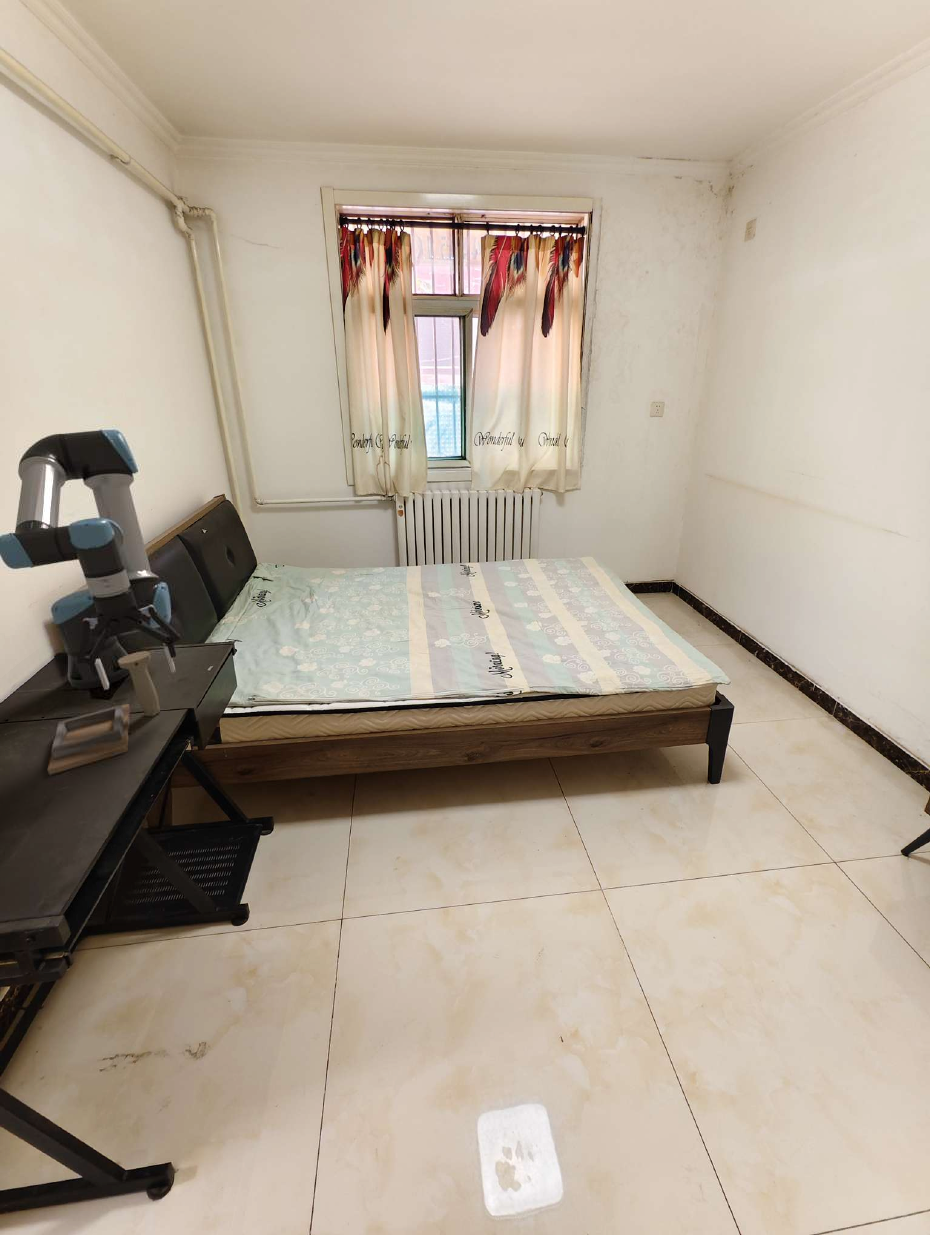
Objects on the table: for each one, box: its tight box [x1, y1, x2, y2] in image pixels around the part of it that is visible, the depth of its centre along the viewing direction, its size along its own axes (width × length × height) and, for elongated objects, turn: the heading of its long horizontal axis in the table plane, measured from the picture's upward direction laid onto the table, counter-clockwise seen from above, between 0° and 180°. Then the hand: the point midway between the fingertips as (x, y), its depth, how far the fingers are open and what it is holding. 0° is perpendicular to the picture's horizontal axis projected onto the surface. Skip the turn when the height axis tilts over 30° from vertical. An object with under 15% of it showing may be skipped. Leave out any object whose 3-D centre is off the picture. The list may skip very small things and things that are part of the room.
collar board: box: [47, 703, 131, 776], centre depth 123 cm, size 20×14×3 cm
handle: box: [118, 650, 161, 717], centre depth 129 cm, size 5×6×15 cm
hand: (140, 678), depth 128 cm, fingers open, 13 cm apart
